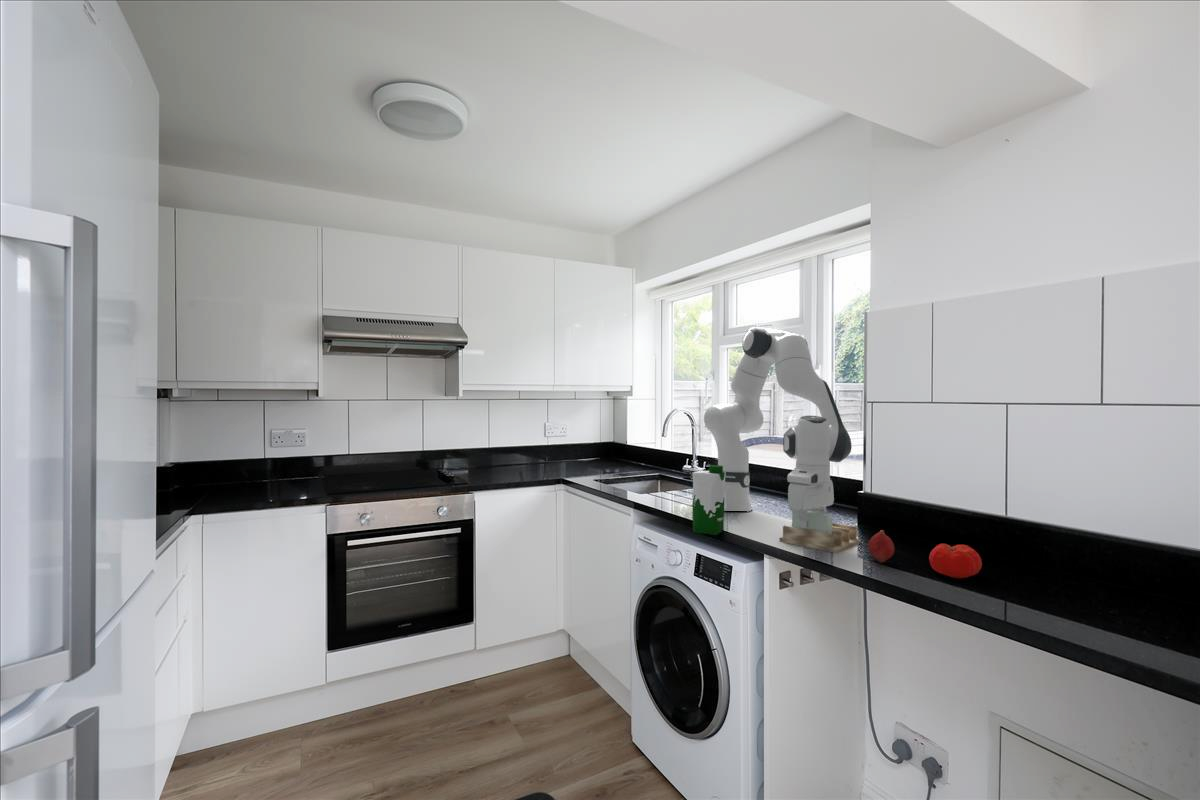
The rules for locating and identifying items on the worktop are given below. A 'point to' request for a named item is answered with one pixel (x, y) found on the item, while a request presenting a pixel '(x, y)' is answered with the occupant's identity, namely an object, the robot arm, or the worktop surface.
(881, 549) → the onion
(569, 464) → the worktop surface
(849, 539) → the dish rack
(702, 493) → the milk carton
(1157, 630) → the worktop surface
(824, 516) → the pale green rectangular block
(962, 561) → the tomato
